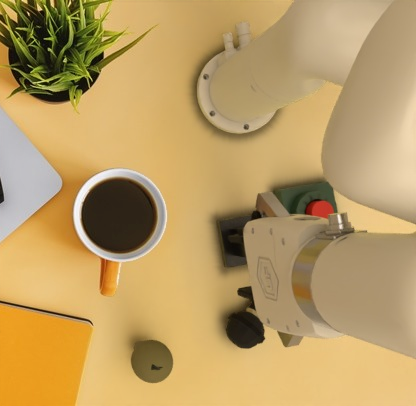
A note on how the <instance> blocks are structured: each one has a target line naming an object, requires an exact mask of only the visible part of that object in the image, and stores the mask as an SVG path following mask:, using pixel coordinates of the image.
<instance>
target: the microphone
mask: <svg viewBox="0 0 416 406" xmlns="http://www.w3.org/2000/svg"><path fill="white" fill-rule="evenodd" d="M227 319H228V321H227V323H226V327H225V333H226V336H227V338H228V340H229V341H230V342H231V343H232V344H234V345H235V346H236V347H238V348H240V349H245V350H249V349H253V348H254V347H256V346H257V345H261V344H263V343H264V341H265V340H266V337H265V333H266V332H265V331H266V329H265V325H264V324H263V323H262V322H261V321H260V319H259V317H258V315H257V312H256V308H255V303H252V302H250V304H249V305H248V306H247V307H246V311H244V310H243V311H239V312H237V313H236V312H233V313H231V314H230V315H229V316H228V318H227Z"/></svg>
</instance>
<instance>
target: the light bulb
mask: <svg viewBox="0 0 416 406" xmlns="http://www.w3.org/2000/svg"><path fill="white" fill-rule="evenodd" d="M173 357H174V356H173V354H172V352H171V350H170V348H169V347H168V346H167V345H166V344H165V343H163V342H161V341H160V340H156V339H146V340H139V341H136V343H135V344H134V346H133V350H132V352H131V356H130V366H131V369H132V371H133V372H134V374H135V376H136V377H137V378H139V380H141V381H142V382H145V383H148V384H157V383H161V382H163V381H165V380H166V379H168V378H169V376H170V375H171V373H172V371H173V368H174V358H173Z"/></svg>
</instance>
